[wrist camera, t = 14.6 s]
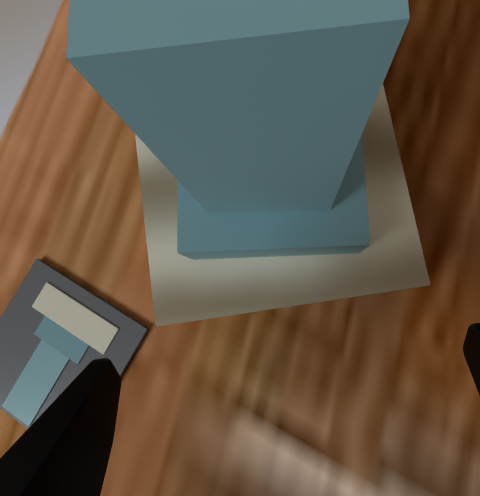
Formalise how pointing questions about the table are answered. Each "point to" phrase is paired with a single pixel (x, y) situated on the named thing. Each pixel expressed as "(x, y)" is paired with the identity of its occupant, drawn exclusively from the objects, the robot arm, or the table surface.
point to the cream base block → (285, 267)
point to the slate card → (56, 340)
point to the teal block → (248, 111)
